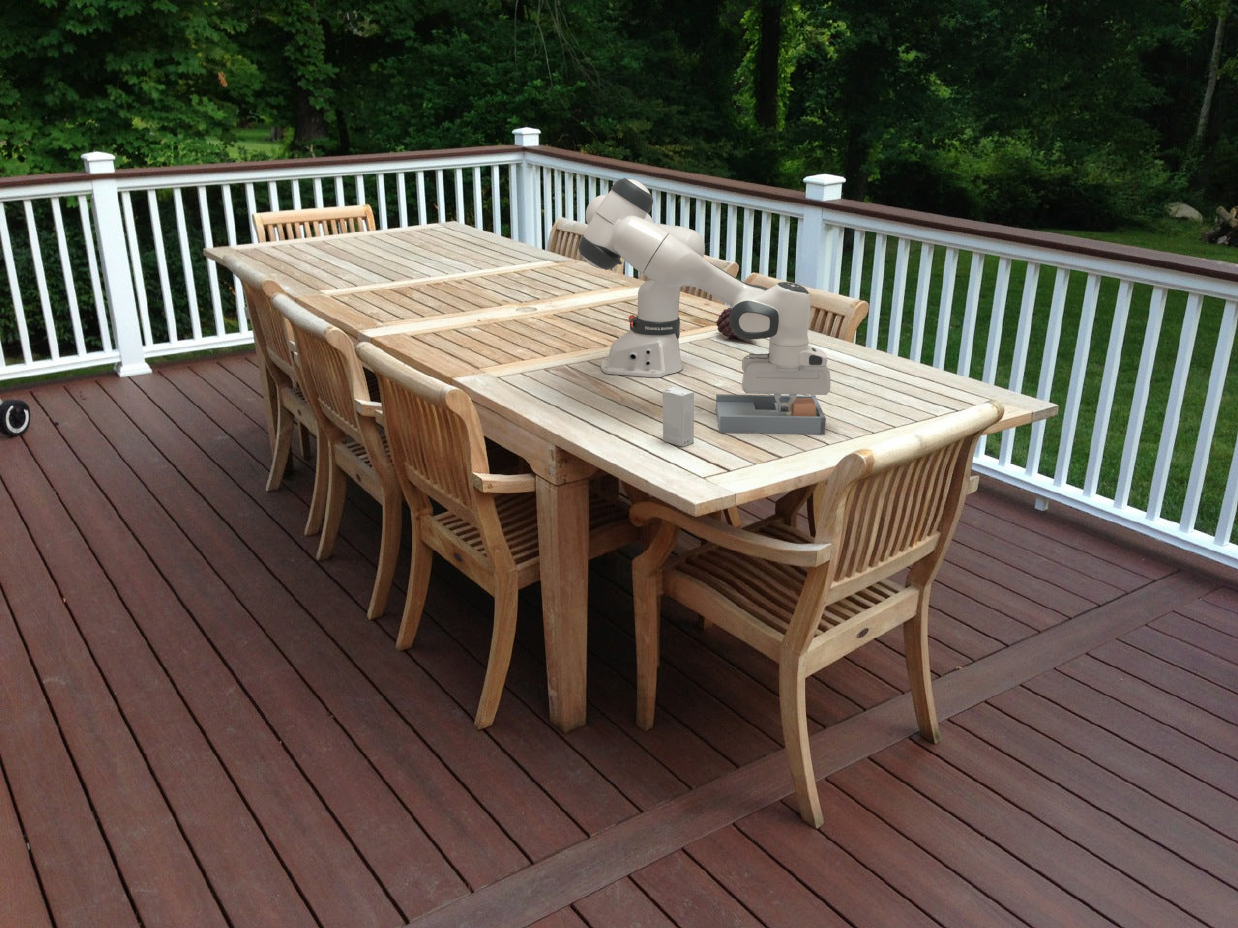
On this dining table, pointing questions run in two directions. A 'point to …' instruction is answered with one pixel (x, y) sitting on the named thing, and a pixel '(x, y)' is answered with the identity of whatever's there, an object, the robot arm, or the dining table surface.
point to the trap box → (764, 415)
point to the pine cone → (725, 324)
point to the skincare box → (678, 416)
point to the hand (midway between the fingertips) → (784, 411)
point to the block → (803, 407)
